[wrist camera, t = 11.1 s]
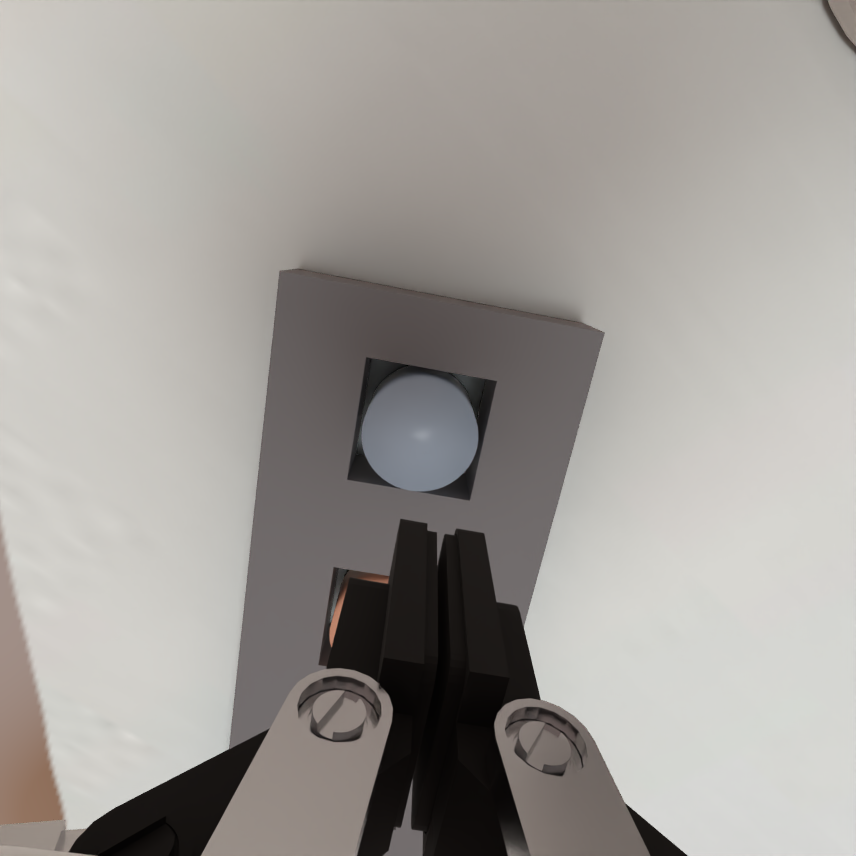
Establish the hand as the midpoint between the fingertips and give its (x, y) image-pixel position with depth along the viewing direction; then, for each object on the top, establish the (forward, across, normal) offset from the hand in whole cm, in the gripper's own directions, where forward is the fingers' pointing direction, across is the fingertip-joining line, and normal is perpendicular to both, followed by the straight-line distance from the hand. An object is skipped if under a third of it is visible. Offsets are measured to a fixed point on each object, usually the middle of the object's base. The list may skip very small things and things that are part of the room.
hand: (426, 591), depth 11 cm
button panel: (+14, 0, +10) cm, 17 cm away
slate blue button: (+14, 0, 0) cm, 14 cm away
